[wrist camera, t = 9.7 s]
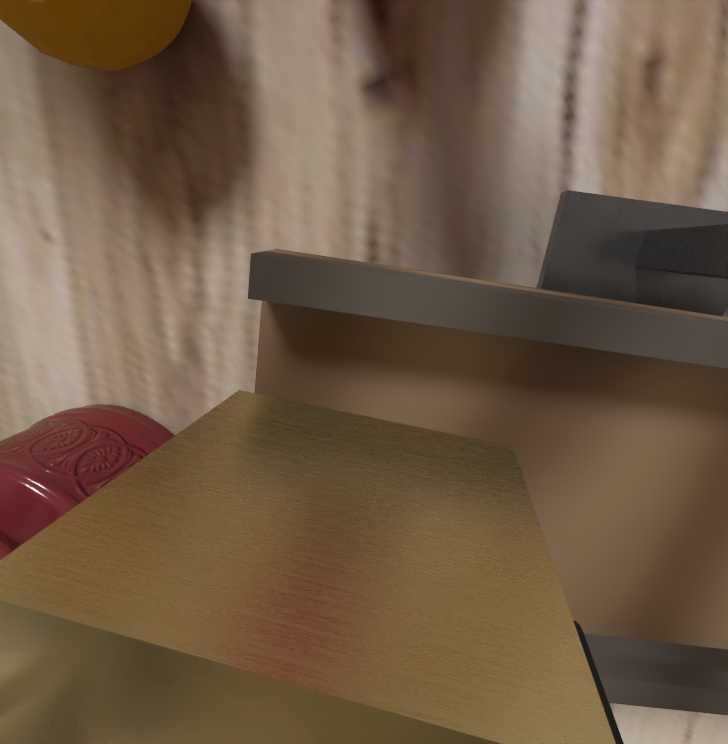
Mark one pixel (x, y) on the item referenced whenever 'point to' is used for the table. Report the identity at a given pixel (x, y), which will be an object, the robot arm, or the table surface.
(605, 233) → the stand
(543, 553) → the block
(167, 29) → the apple
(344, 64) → the table surface
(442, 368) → the beam
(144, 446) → the canister
